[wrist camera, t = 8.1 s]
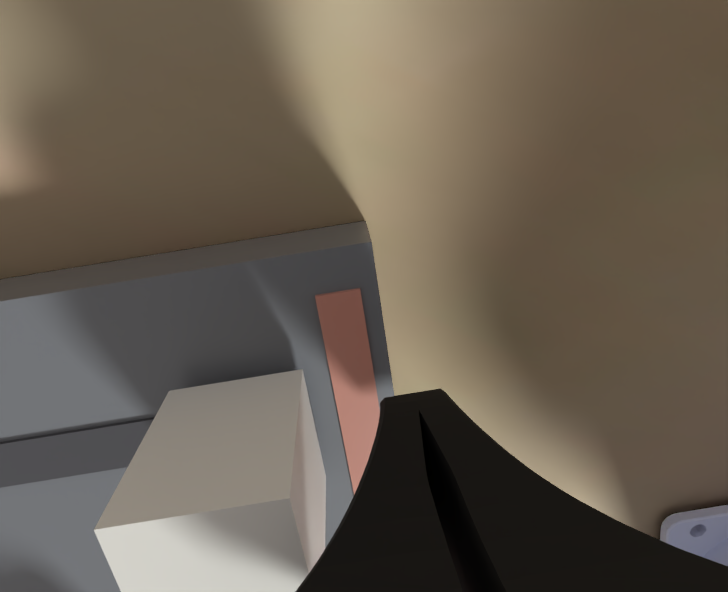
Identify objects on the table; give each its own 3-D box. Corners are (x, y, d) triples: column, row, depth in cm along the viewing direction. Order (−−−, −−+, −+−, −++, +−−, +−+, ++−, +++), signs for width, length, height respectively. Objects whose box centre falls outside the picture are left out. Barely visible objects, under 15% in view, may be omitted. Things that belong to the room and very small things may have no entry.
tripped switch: (302, 368, 12) (289, 498, 8) (326, 476, 13) (323, 634, 9) (169, 390, 12) (93, 530, 8) (203, 496, 13) (151, 661, 9)
